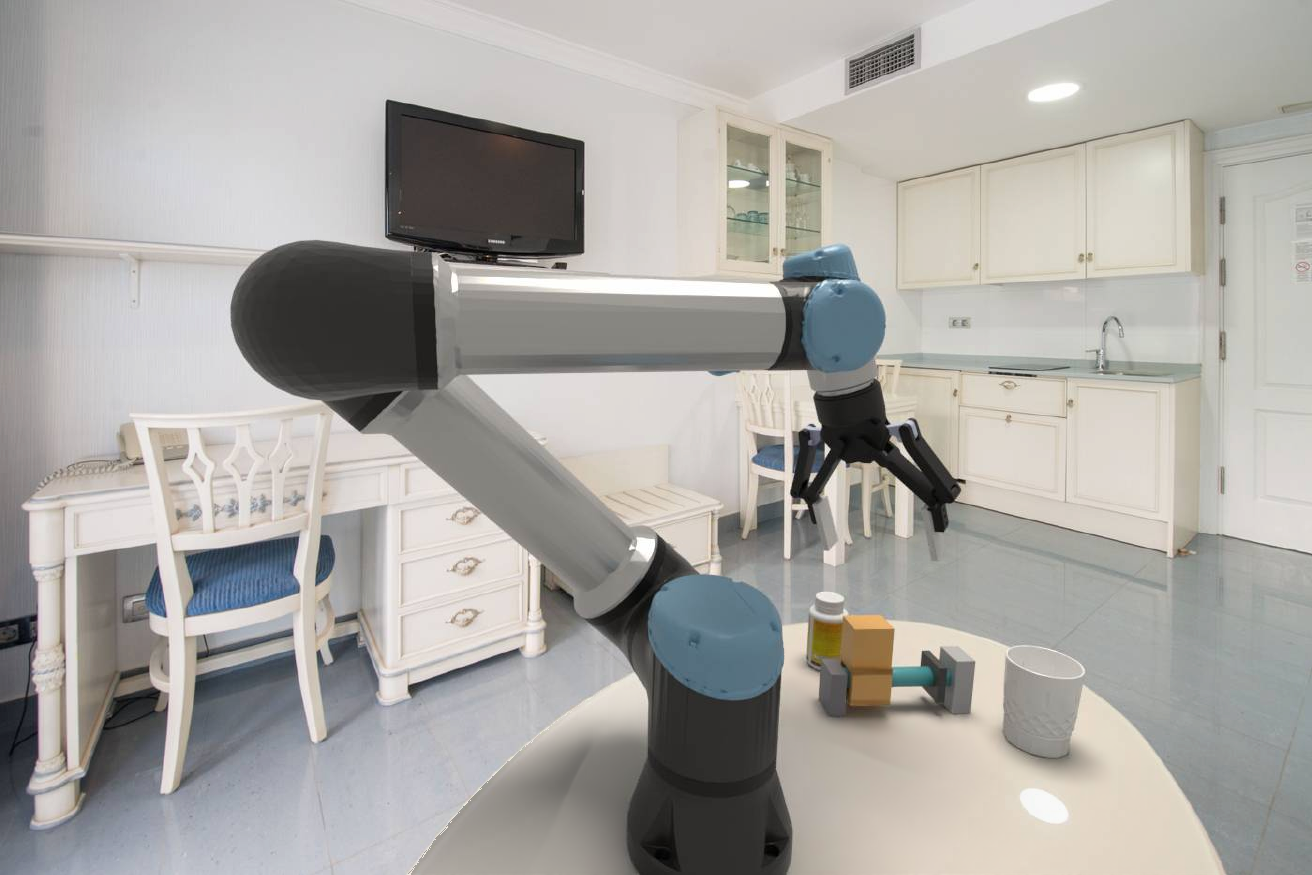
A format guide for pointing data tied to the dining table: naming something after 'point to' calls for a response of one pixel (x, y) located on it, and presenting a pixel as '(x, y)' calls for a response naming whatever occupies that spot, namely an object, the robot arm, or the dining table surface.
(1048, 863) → the dining table surface
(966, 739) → the dining table surface
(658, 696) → the robot arm
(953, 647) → the teal axle dumbbell
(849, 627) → the sleeve
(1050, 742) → the white cup
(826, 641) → the supplement bottle
